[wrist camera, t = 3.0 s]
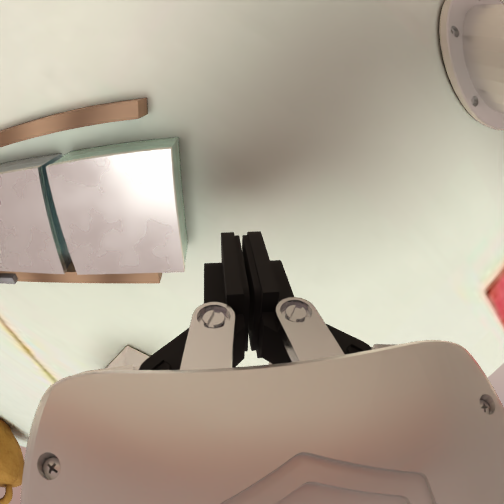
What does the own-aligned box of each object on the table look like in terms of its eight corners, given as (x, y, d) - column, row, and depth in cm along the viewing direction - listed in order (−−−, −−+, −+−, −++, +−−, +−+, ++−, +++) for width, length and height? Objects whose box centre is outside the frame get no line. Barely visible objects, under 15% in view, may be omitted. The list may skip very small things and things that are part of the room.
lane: (147, 97, 14) (114, 108, 10) (163, 265, 21) (151, 321, 16) (-52, 152, 12) (-93, 179, 8) (-16, 266, 19) (-44, 304, 14)
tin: (179, 135, 16) (170, 149, 13) (188, 241, 21) (184, 271, 18) (71, 150, 16) (45, 167, 13) (93, 246, 20) (77, 274, 17)
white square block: (63, 151, 16) (37, 167, 13) (81, 246, 20) (64, 274, 17) (-8, 164, 15) (-34, 181, 12) (14, 246, 19) (-6, 270, 16)
